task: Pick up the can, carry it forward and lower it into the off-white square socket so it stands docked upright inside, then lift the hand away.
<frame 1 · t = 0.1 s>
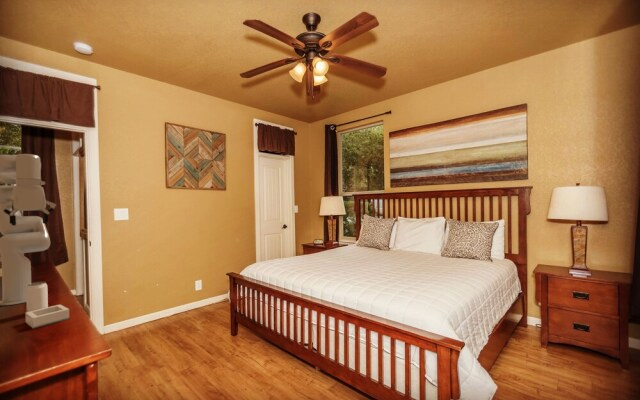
hand: (29, 224, 127), 37 cm above the table, tool pointing down, fingers open, 9 cm apart
dock socket: (47, 320, 116), on the table
can: (37, 312, 126), on the table
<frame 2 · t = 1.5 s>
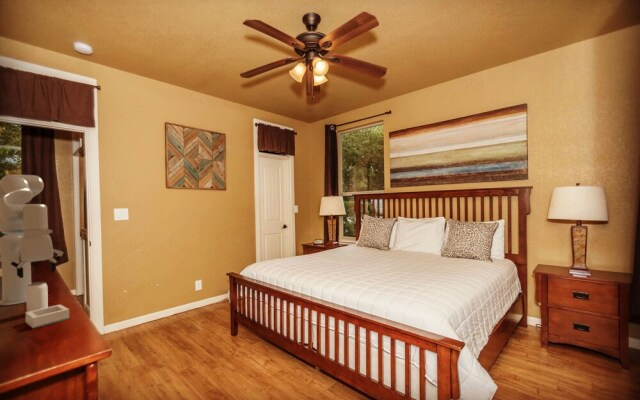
hand: (37, 274, 125), 16 cm above the table, tool pointing down, fingers open, 9 cm apart
nothing on the table moved.
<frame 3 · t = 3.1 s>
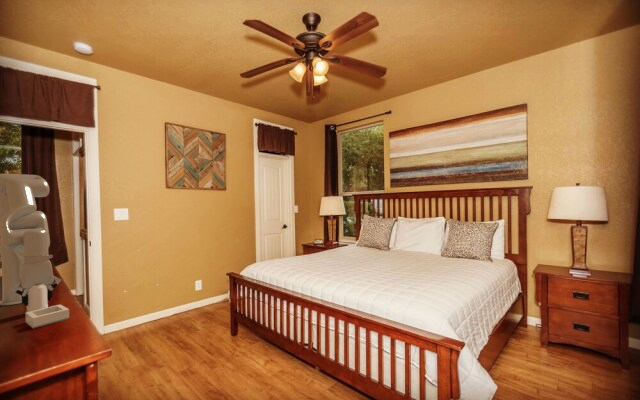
hand: (37, 302, 126), 4 cm above the table, tool pointing down, fingers closed on can, 6 cm apart
can: (37, 312, 126), on the table, touching gripper
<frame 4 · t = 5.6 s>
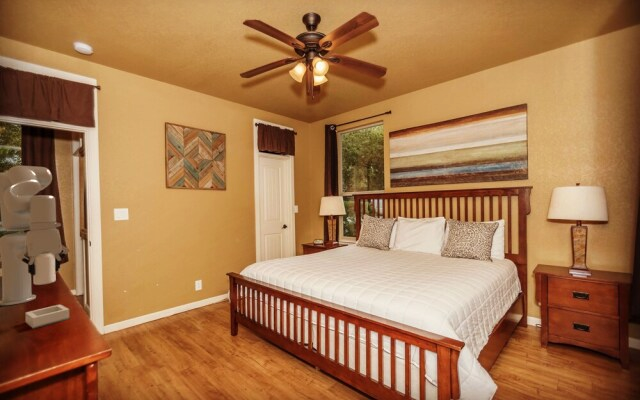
hand: (44, 272, 118), 18 cm above the table, tool pointing down, fingers closed on can, 6 cm apart
can: (44, 283, 118), point 14 cm above the table, touching gripper
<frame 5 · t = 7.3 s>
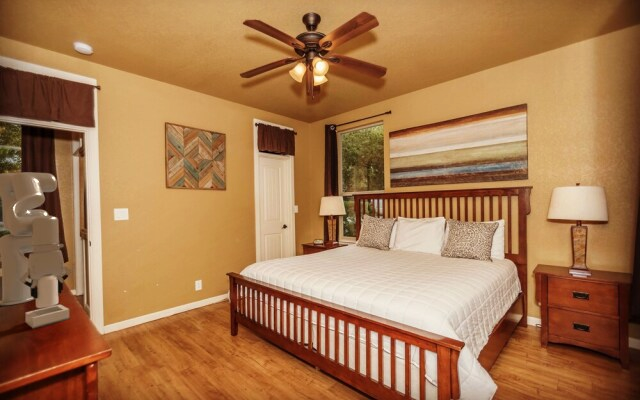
hand: (47, 294, 116), 10 cm above the table, tool pointing down, fingers closed on can, 6 cm apart
can: (47, 306, 116), point 6 cm above the table, touching gripper
when the fingers open (6 cm above the table, at t = 8.6 s): can drops 1 cm, resting on dock socket.
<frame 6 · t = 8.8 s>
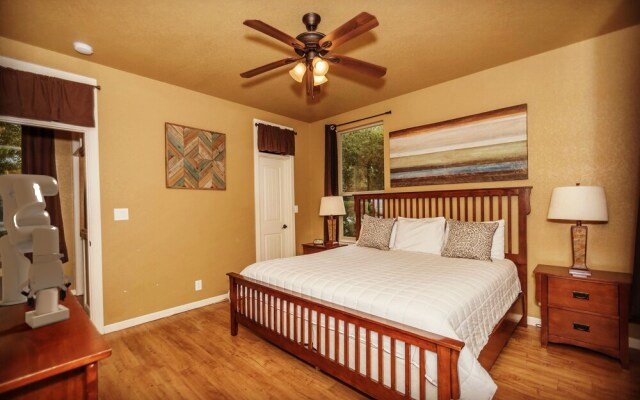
hand: (47, 303, 116), 7 cm above the table, tool pointing down, fingers open, 8 cm apart
can: (46, 319, 116), point 1 cm above the table, touching dock socket
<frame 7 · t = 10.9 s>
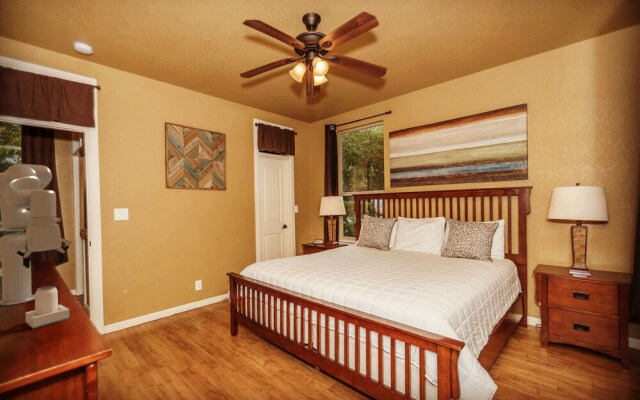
hand: (44, 265, 118), 21 cm above the table, tool pointing down, fingers open, 9 cm apart
nothing on the table moved.
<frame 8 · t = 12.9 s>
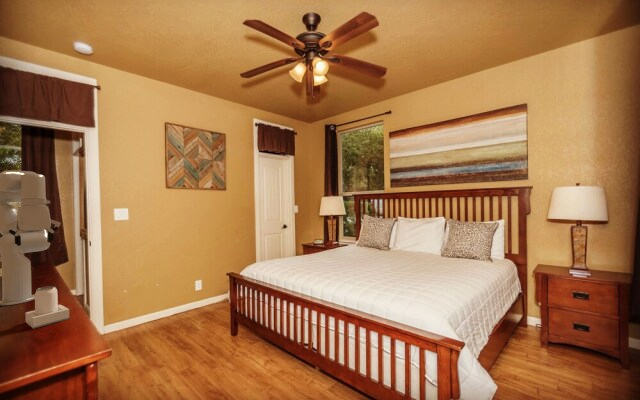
hand: (34, 244, 127), 28 cm above the table, tool pointing down, fingers open, 9 cm apart
nothing on the table moved.
at the end: can 0.4 cm off-centre on the dock socket, point 0.4 cm above the dock socket's base; can tilted 0°; the gripper is holding nothing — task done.
